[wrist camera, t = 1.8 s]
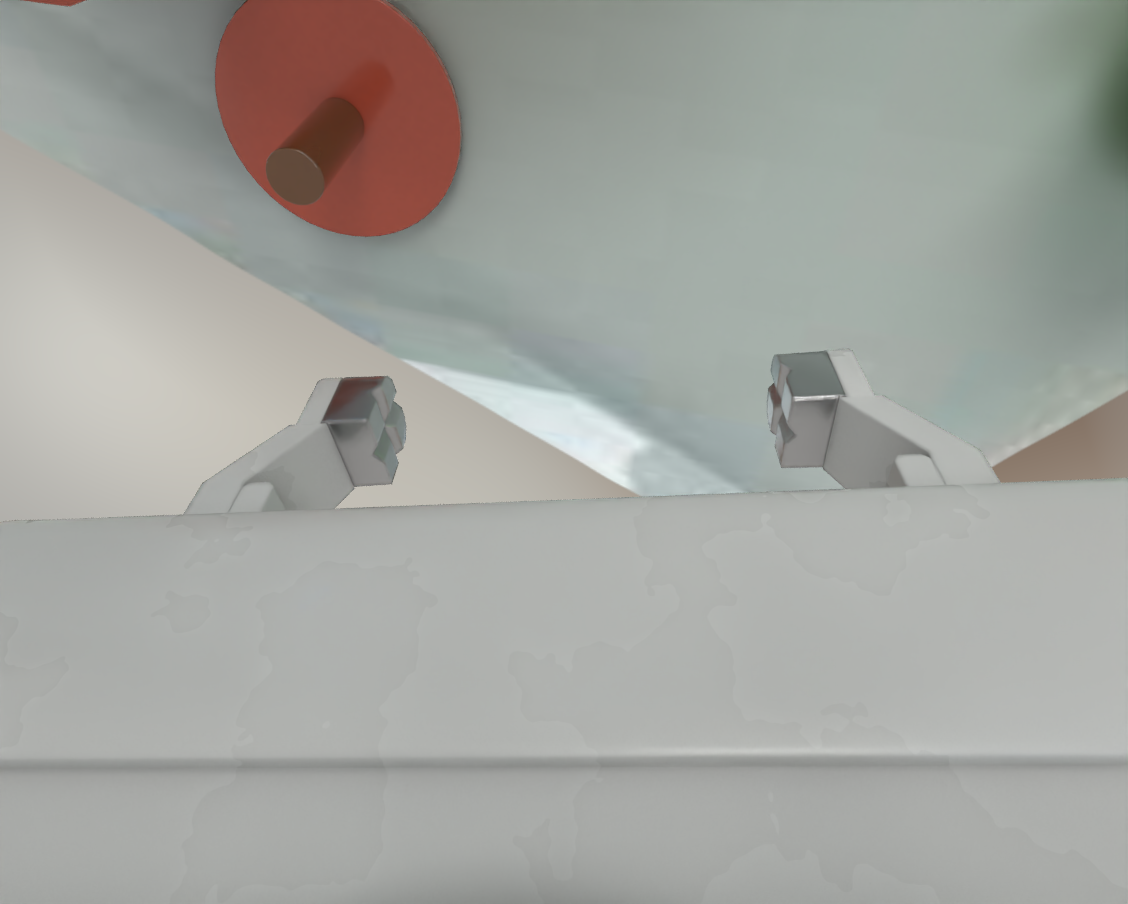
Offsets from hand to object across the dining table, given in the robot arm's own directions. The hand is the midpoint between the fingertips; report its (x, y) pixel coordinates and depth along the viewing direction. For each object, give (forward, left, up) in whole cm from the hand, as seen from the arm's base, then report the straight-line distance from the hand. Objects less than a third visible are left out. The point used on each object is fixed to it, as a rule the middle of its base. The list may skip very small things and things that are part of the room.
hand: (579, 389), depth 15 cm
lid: (-6, -12, -27) cm, 30 cm away
